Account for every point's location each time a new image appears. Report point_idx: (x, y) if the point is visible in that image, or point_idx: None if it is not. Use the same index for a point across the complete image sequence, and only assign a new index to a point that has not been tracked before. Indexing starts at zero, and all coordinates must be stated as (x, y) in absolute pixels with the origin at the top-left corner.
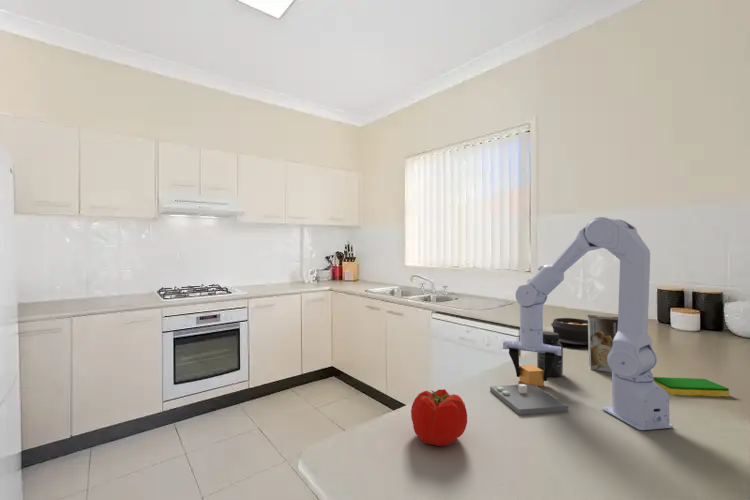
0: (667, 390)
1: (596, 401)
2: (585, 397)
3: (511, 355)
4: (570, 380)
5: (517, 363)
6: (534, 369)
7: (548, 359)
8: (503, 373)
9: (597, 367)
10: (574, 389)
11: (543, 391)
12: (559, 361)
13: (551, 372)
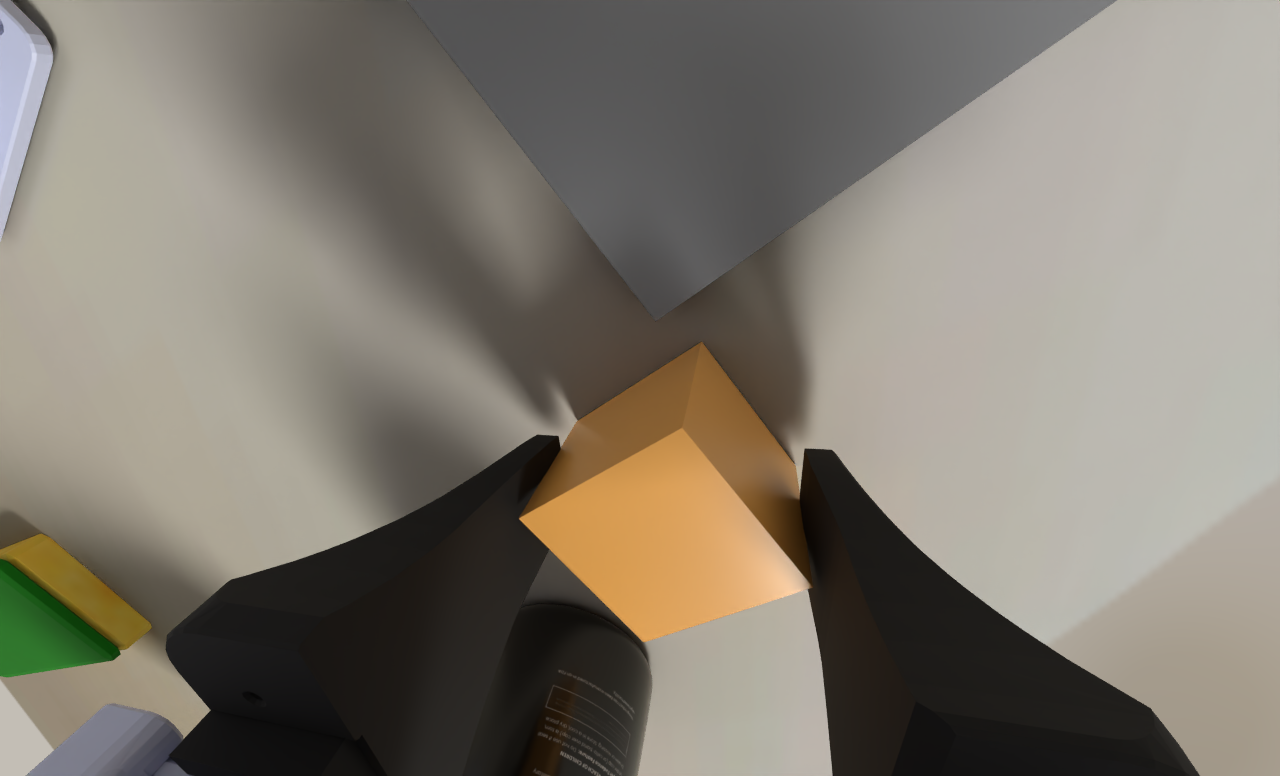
0: (44, 556)
1: (182, 249)
2: (264, 298)
3: (1091, 697)
4: None
5: (865, 559)
6: (621, 528)
7: (291, 592)
8: None
9: None
10: (372, 431)
11: (512, 109)
12: None
13: (536, 630)
